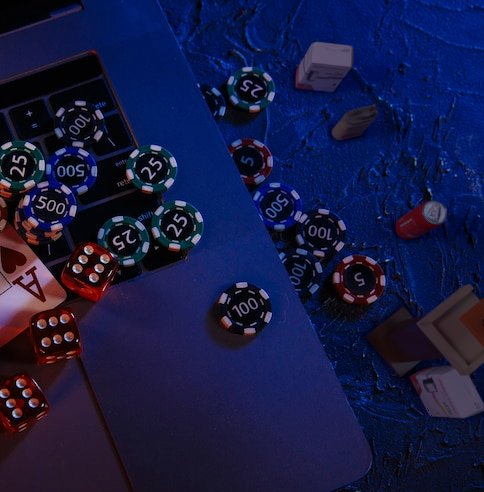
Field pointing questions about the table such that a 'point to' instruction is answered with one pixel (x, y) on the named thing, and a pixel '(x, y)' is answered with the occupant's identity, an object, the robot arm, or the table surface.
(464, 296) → the dock pad
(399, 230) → the beverage can
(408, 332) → the stand
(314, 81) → the ink box
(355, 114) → the tan tapered block
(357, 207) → the table surface
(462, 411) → the ink box
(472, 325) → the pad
